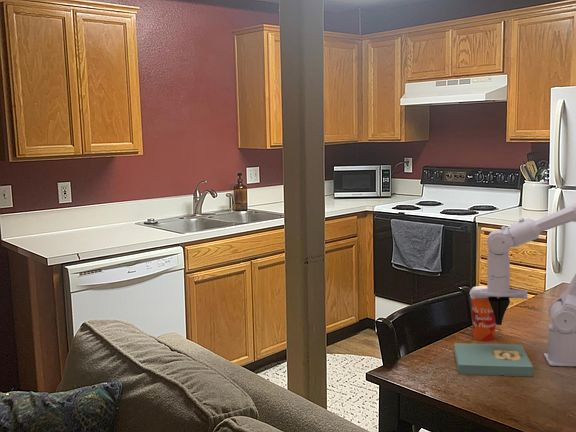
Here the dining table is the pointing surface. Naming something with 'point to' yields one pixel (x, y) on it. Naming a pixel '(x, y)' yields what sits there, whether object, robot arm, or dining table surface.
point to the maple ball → (506, 355)
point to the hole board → (492, 359)
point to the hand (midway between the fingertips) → (498, 323)
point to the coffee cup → (482, 318)
